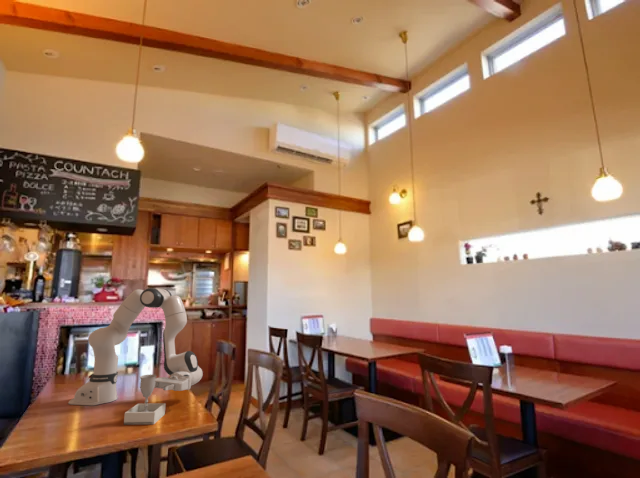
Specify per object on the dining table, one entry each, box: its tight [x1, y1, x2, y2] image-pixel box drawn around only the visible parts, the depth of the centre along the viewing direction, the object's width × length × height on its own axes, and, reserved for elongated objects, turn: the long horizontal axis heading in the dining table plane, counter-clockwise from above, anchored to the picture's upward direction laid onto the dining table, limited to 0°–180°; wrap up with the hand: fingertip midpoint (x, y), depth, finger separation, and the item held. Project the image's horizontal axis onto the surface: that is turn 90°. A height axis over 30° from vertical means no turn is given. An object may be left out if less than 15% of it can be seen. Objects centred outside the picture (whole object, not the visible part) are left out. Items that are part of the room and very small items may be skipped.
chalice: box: [139, 374, 157, 412], centre depth 162 cm, size 7×7×18 cm
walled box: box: [123, 402, 167, 426], centre depth 160 cm, size 13×13×5 cm
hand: (156, 387), depth 167 cm, fingers open, 8 cm apart
